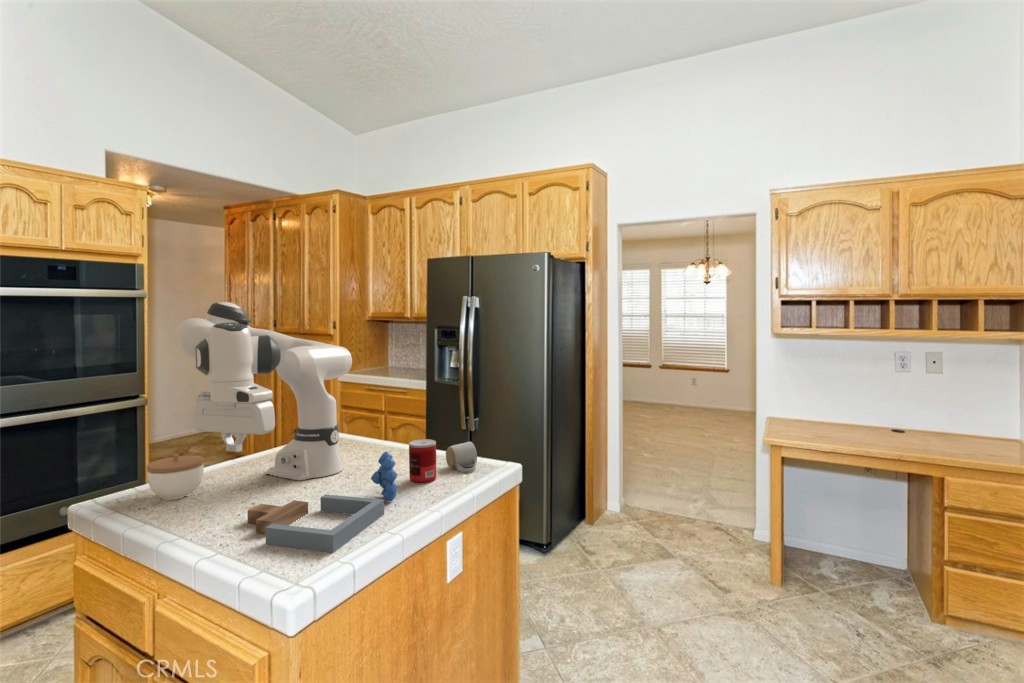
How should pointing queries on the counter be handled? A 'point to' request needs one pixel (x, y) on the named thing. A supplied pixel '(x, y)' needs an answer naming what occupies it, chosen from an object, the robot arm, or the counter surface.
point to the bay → (336, 537)
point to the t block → (276, 514)
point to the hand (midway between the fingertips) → (234, 451)
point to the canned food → (422, 461)
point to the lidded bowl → (175, 475)
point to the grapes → (386, 476)
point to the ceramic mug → (462, 457)
